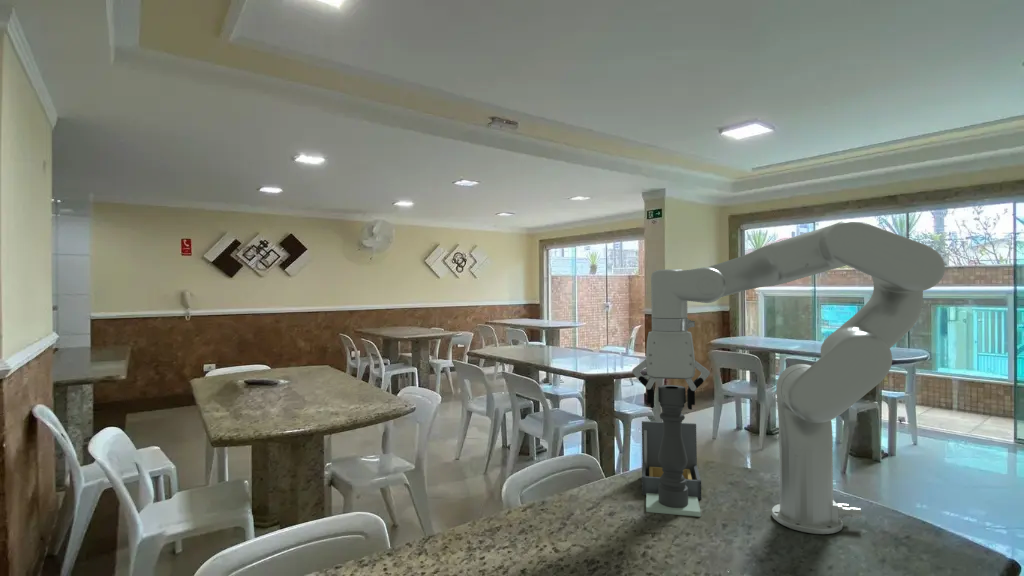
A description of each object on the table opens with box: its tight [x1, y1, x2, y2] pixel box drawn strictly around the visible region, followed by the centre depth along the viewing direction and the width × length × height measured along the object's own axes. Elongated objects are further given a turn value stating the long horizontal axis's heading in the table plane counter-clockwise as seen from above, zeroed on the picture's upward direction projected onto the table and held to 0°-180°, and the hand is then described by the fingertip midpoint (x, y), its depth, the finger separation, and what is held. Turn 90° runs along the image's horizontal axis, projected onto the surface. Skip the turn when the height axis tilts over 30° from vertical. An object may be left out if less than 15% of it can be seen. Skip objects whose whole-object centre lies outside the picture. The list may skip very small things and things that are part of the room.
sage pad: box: [645, 493, 702, 518], centre depth 116 cm, size 11×8×1 cm
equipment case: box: [641, 420, 702, 500], centre depth 127 cm, size 13×12×14 cm
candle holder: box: [657, 384, 688, 508], centre depth 116 cm, size 6×6×25 cm
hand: (670, 406), depth 116 cm, fingers open, 7 cm apart
